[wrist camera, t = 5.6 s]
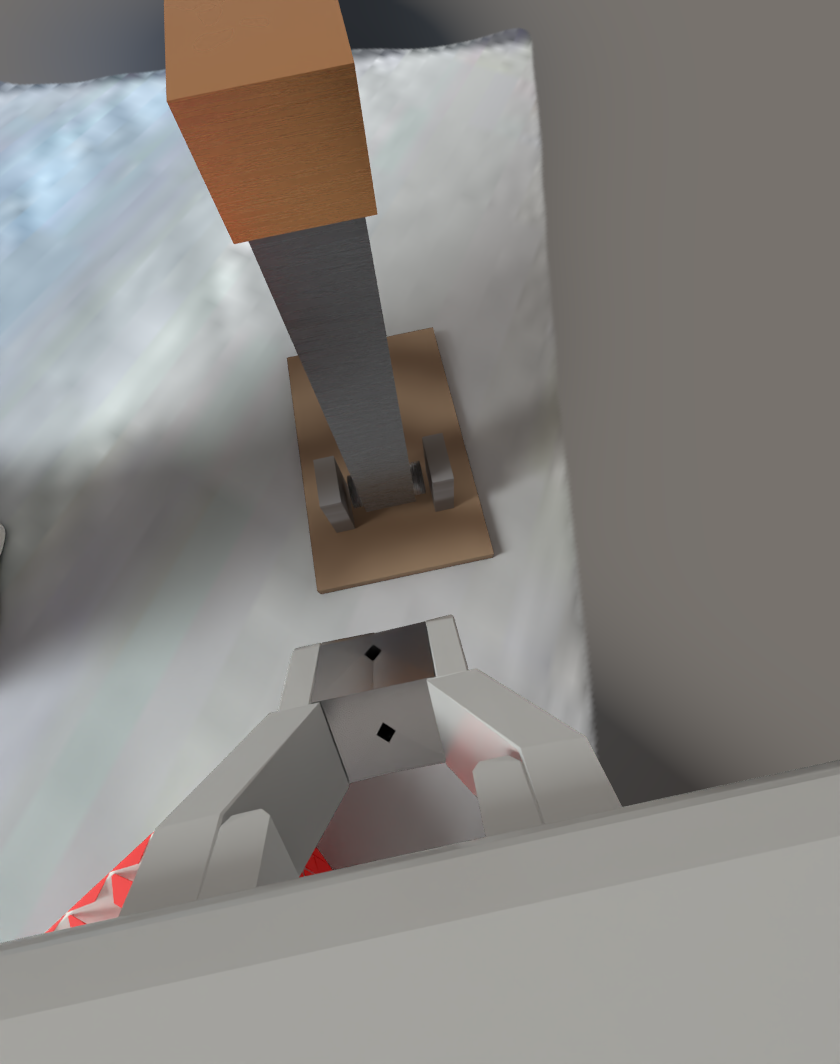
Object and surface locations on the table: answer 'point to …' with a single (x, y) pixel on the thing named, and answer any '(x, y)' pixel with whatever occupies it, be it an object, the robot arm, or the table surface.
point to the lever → (298, 203)
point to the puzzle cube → (116, 885)
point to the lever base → (404, 530)
